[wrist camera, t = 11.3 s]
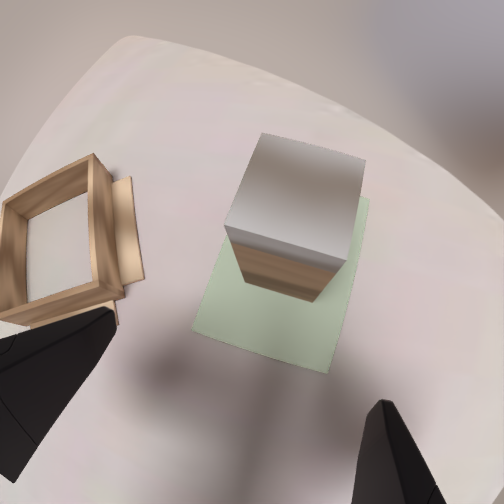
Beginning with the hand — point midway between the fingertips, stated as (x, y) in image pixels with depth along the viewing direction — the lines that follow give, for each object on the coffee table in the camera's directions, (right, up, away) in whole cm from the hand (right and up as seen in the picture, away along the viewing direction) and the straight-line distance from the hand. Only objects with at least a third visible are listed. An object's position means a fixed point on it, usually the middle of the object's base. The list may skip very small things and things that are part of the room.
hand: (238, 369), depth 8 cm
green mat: (+3, +3, +14) cm, 14 cm away
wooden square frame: (-17, +4, +15) cm, 23 cm away
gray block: (+3, +3, +13) cm, 14 cm away
